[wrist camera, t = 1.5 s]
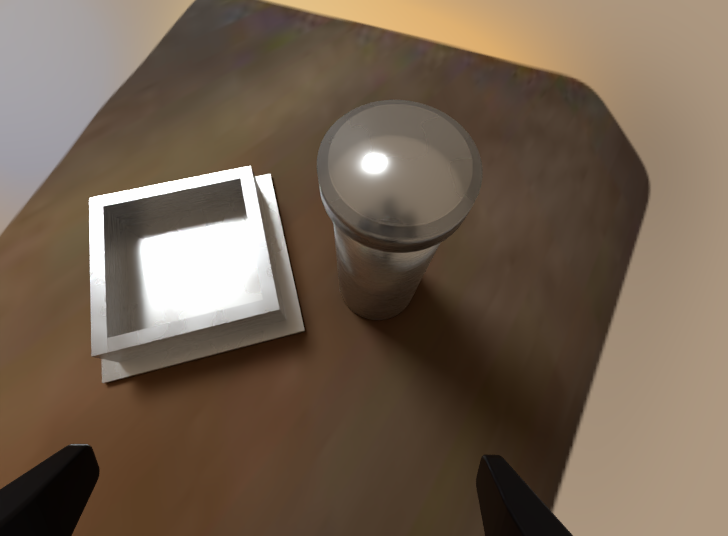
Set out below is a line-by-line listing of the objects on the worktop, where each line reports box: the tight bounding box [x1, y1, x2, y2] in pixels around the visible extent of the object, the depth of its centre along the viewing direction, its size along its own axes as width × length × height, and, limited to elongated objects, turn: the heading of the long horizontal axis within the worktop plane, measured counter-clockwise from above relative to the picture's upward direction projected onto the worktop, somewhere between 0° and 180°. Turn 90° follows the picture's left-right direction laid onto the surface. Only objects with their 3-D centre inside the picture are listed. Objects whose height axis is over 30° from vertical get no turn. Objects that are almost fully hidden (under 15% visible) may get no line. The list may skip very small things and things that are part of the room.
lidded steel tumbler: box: [317, 100, 482, 320], centre depth 19 cm, size 6×6×13 cm
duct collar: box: [89, 166, 305, 383], centre depth 24 cm, size 12×12×3 cm
